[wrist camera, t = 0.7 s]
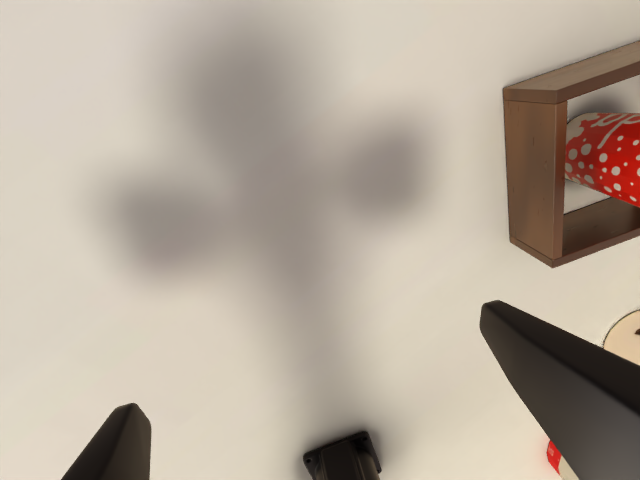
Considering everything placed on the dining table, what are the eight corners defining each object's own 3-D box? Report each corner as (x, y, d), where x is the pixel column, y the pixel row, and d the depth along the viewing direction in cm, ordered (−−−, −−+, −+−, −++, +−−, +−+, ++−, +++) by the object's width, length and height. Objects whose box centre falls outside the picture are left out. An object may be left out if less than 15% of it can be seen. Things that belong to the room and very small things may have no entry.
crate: (643, 193, 27) (706, 211, 24) (509, 242, 27) (552, 269, 23) (667, 30, 22) (752, 21, 18) (502, 88, 22) (556, 90, 18)
